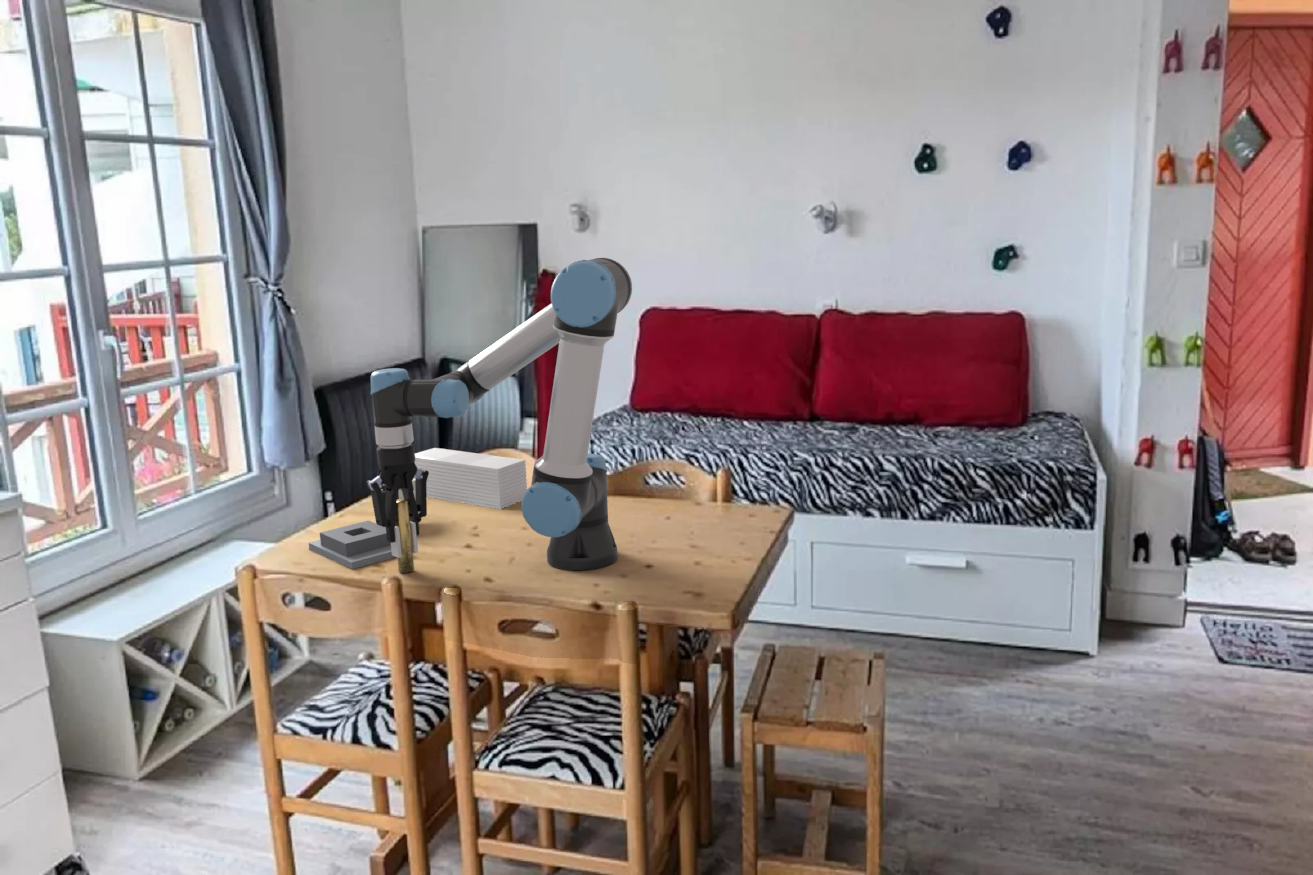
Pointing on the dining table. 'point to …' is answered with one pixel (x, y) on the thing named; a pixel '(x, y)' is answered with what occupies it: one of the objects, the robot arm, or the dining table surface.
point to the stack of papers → (473, 477)
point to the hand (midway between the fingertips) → (405, 553)
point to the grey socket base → (354, 544)
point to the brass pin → (404, 536)
